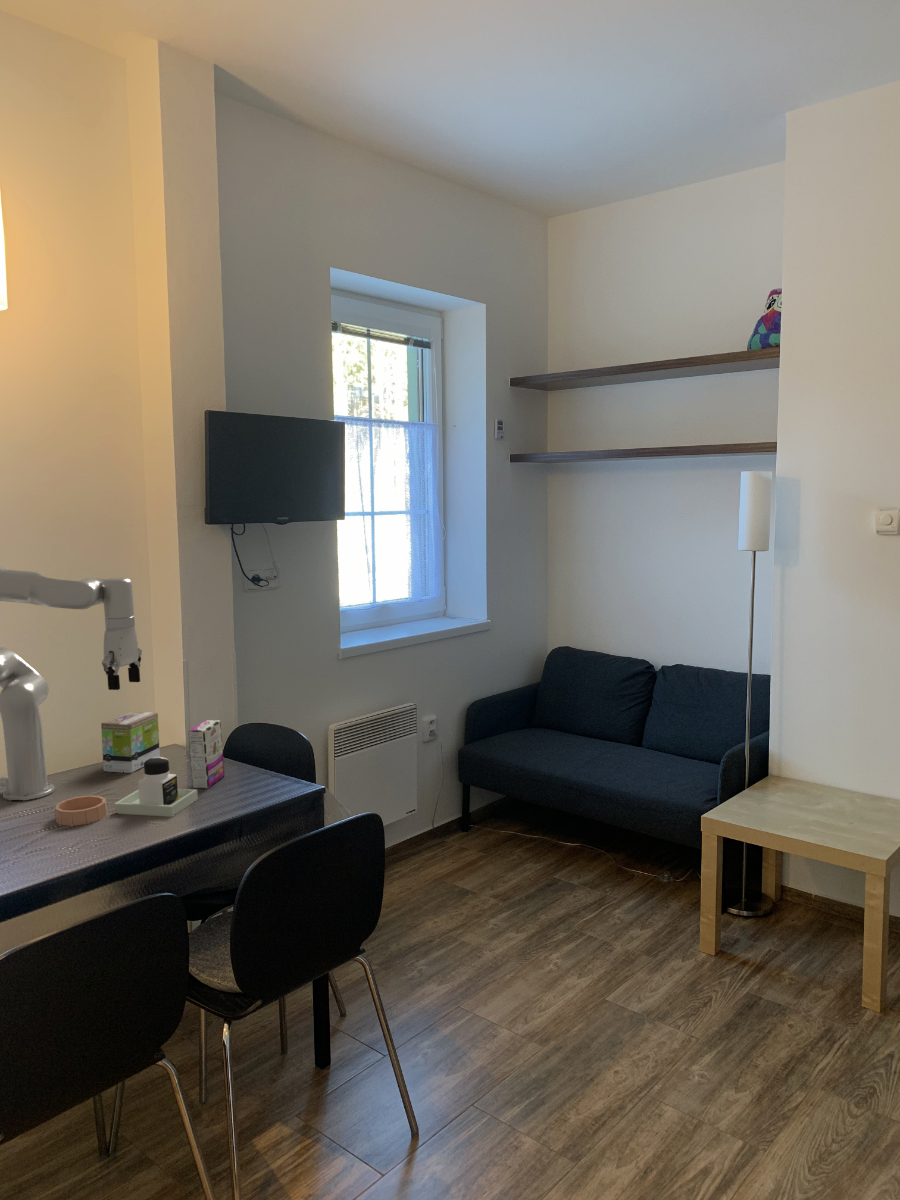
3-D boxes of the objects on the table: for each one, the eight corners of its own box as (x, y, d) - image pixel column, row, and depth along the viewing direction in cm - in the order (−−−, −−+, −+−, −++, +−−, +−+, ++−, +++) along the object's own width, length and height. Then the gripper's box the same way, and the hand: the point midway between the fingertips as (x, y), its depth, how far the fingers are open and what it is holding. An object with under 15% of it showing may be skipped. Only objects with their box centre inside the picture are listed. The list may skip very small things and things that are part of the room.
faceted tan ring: (46, 824, 223) (45, 810, 222) (75, 807, 234) (74, 794, 233) (88, 826, 220) (87, 812, 220) (115, 810, 231) (114, 796, 231)
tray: (114, 813, 229) (114, 803, 228) (143, 796, 241) (142, 786, 241) (172, 816, 225) (171, 806, 225) (197, 799, 238) (197, 789, 237)
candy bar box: (208, 775, 258) (204, 719, 256) (225, 776, 257) (221, 719, 255) (191, 788, 247) (187, 730, 245) (208, 789, 246) (204, 730, 244)
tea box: (133, 773, 262) (129, 723, 260) (102, 772, 264) (99, 722, 262) (161, 758, 276) (158, 711, 275) (132, 757, 279) (128, 710, 277)
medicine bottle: (164, 809, 229) (161, 763, 227) (139, 808, 230) (135, 762, 229) (178, 800, 235) (175, 755, 234) (154, 799, 237) (151, 754, 236)
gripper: (125, 619, 254) (130, 678, 256) (88, 628, 237) (93, 692, 239) (149, 619, 252) (154, 679, 255) (113, 628, 236) (118, 693, 238)
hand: (124, 685), depth 247 cm, fingers open, 9 cm apart
